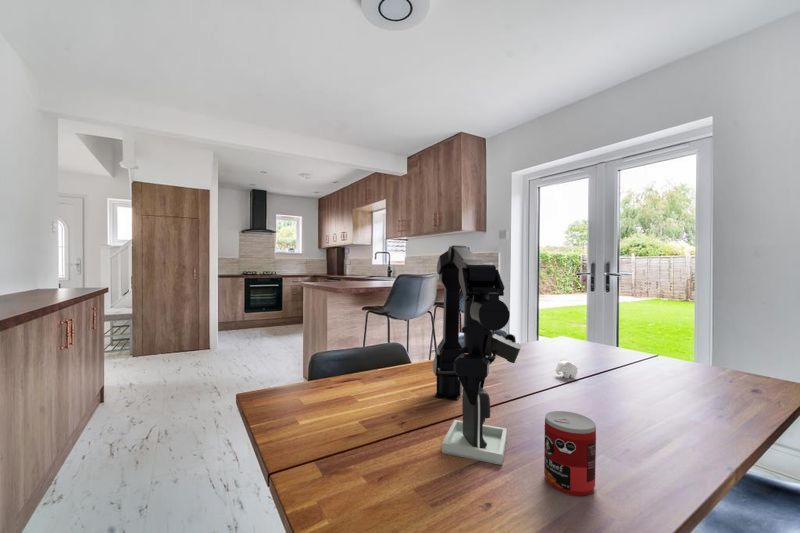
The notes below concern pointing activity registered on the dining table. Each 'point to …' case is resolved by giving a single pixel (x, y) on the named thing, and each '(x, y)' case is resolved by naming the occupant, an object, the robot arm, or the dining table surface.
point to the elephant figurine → (566, 368)
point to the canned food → (570, 452)
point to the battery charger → (475, 418)
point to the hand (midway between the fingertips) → (476, 397)
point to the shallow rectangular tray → (462, 448)
